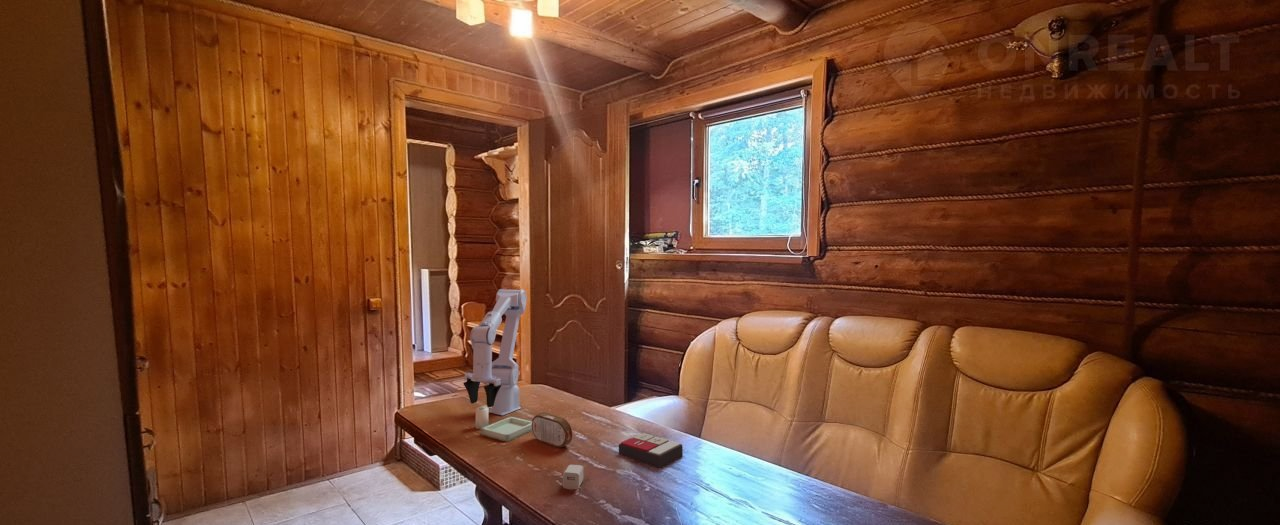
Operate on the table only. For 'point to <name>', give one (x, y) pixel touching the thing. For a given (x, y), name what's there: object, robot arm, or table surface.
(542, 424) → the tin
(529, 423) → the trough tray
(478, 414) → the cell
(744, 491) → the table surface
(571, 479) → the usb wall charger
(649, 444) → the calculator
